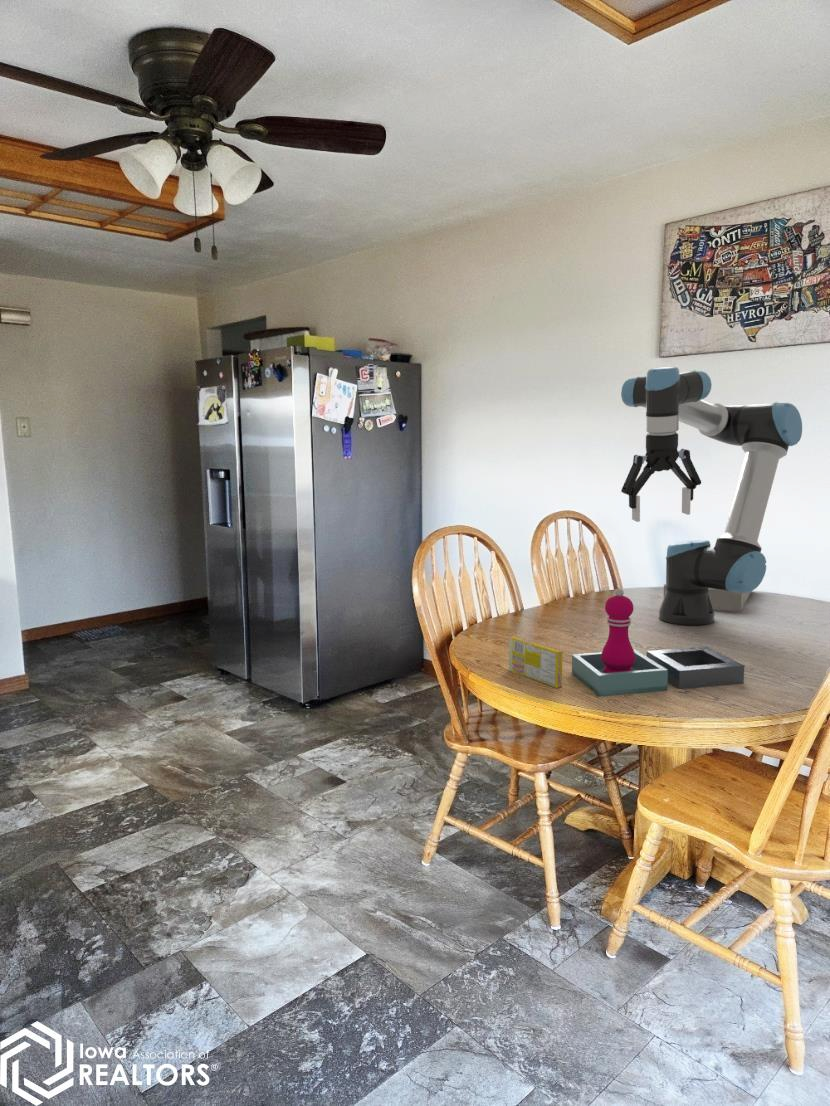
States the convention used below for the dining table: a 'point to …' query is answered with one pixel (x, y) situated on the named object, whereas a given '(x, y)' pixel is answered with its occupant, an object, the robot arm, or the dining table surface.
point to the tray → (619, 675)
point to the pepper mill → (618, 635)
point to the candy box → (535, 661)
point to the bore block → (698, 667)
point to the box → (725, 599)
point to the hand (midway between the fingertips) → (661, 517)
